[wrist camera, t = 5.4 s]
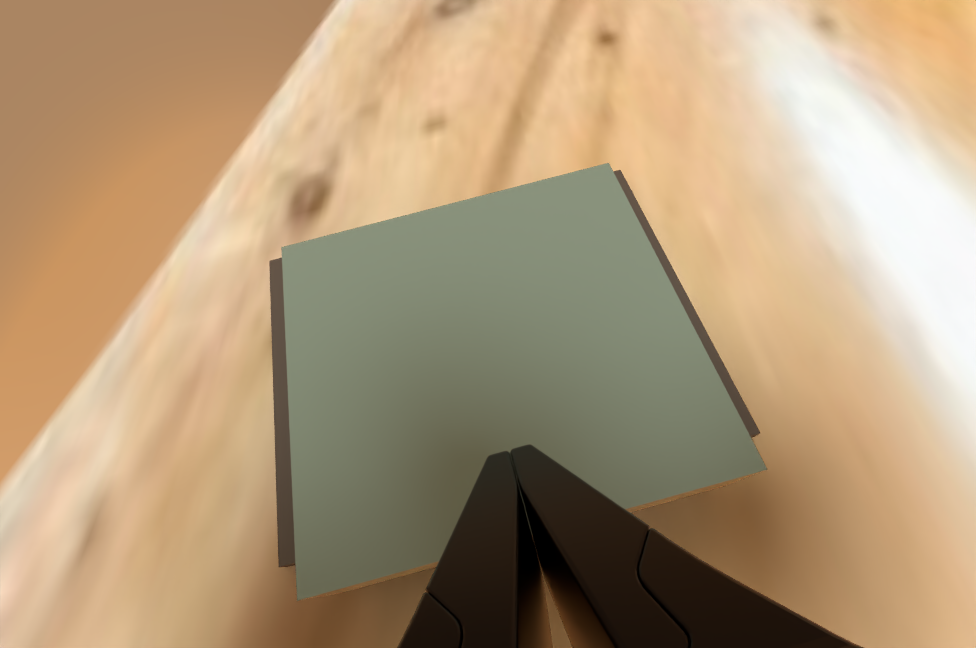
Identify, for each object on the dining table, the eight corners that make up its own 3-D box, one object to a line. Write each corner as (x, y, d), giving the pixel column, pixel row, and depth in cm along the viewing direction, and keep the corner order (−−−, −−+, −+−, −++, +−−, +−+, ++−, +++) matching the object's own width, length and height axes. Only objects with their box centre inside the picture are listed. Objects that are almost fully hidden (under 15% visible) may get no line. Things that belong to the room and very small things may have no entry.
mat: (753, 436, 15) (760, 432, 15) (286, 566, 15) (278, 566, 15) (618, 177, 21) (620, 169, 21) (275, 267, 21) (269, 260, 20)
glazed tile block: (767, 469, 12) (608, 162, 17) (297, 600, 11) (281, 247, 16) (721, 487, 14) (598, 221, 19) (346, 592, 14) (320, 294, 19)
